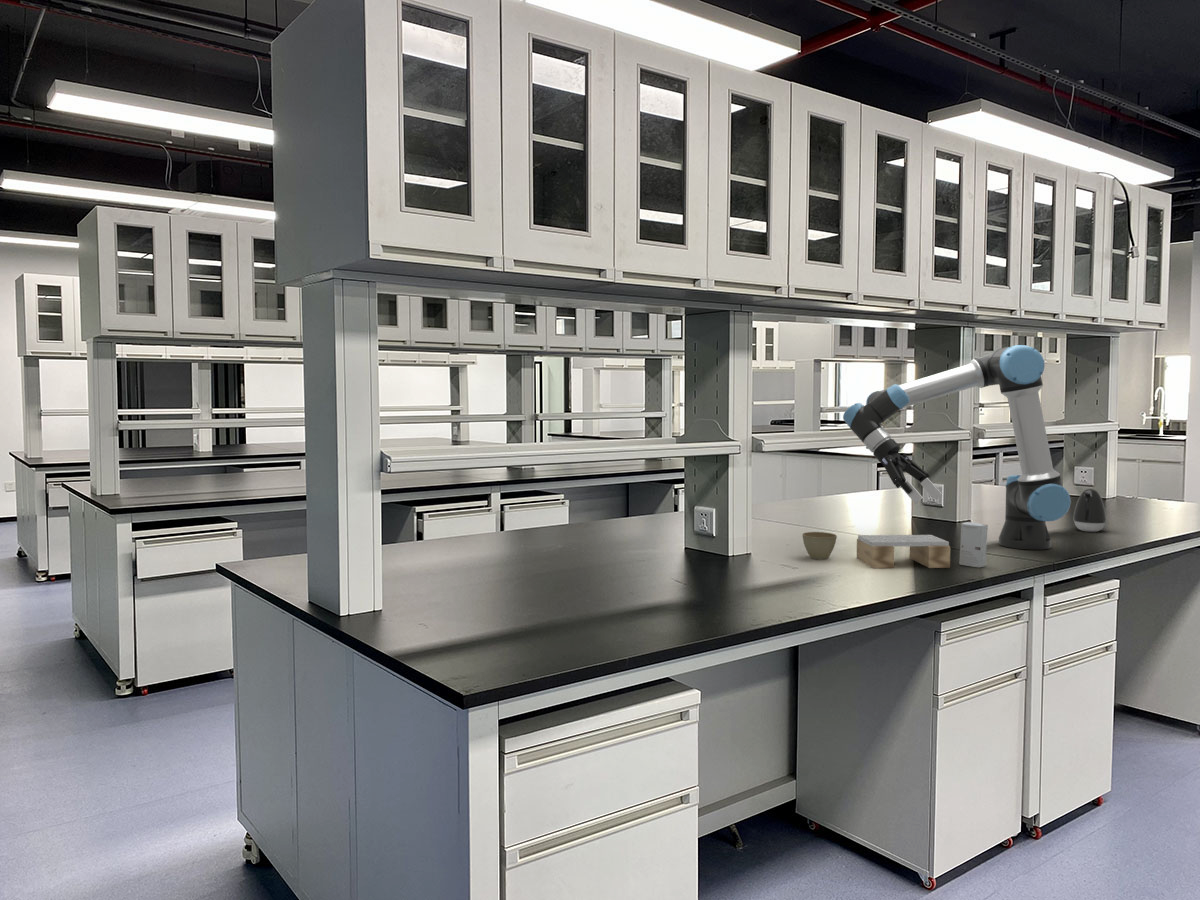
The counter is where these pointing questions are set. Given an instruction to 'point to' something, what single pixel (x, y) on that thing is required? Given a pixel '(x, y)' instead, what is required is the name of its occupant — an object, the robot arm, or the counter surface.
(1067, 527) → the counter surface
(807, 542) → the flower pot
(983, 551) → the skincare box
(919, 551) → the oak blocks
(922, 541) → the bridge plate
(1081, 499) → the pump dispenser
